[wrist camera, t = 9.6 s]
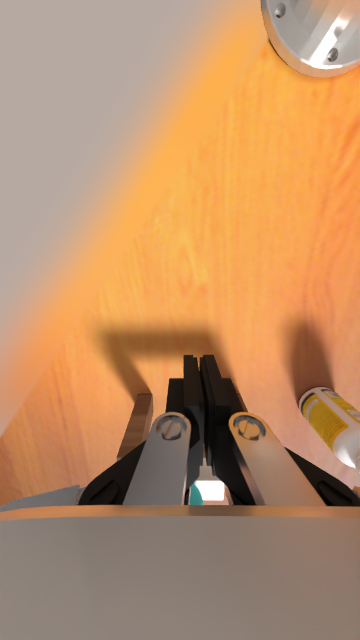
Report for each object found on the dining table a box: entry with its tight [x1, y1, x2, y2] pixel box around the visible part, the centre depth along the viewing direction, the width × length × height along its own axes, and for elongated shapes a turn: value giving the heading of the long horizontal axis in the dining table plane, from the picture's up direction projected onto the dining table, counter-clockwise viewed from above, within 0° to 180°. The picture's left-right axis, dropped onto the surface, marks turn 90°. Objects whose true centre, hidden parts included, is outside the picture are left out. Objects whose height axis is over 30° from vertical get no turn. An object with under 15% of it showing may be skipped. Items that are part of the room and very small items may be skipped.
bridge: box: [117, 394, 248, 481], centre depth 23 cm, size 3×14×9 cm, turn 91°
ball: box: [189, 484, 203, 505], centre depth 29 cm, size 6×6×6 cm
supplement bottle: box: [299, 387, 360, 474], centre depth 22 cm, size 5×5×10 cm
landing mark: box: [193, 481, 224, 500], centre depth 31 cm, size 12×12×1 cm
